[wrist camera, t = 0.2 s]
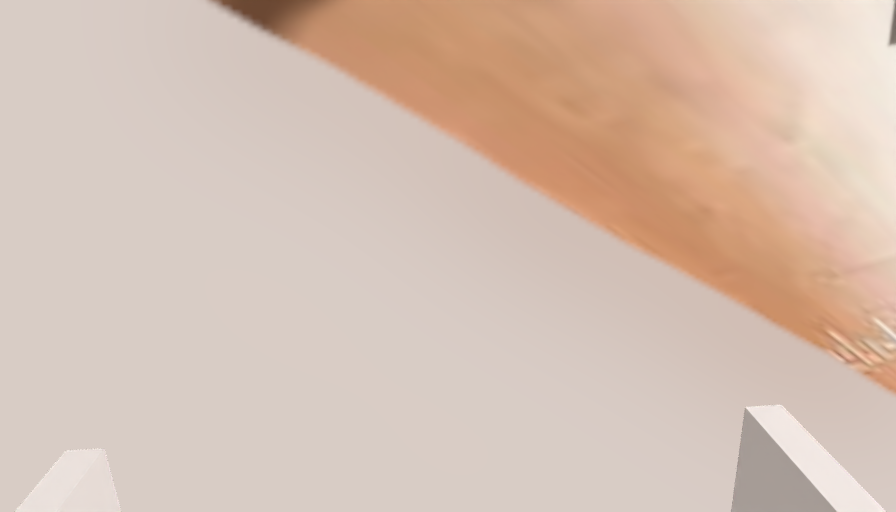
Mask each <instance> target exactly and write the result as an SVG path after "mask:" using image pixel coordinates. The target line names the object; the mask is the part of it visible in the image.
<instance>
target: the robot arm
mask: <svg viewBox="0 0 896 512" xmlns="http://www.w3.org/2000/svg"><path fill="white" fill-rule="evenodd" d="M15 512H121V509H120V505H119V501H118V498H117V494H116V490H115V486H114V483H113V479H112V475H111V471H110V468H109V464H108V460H107V456H106V453H105V449H104V448H101V449H85V450H69V451H65V452H64V453H63V455H62V456H61V457H60V458H59V459H58V460H57V462H56V463H55V464H54V465H53V466H52V468H51V469H50V470H49V471H48V472H47V474H46V475H45V476H44V477H43V478H42V480H41V481H40V482H39V483H38V484H37V486H36V487H35V488H34V489H33V490H32V491H31V493H30V494H29V495H28V496H27V497H26V499H25V500H24V501H23V502H22V503H21V505H20V506H19V507H18V508H17V509H16V511H15ZM731 512H886V511H885V510H884V509H883V508H882V507H881V506H880V505H879V504H878V503H877V502H876V501H875V500H874V499H873V498H872V497H871V496H870V495H869V494H868V493H867V492H866V491H865V489H864V488H862V486H860V484H859V483H858V482H856V480H855V479H854V478H853V477H852V476H851V475H850V474H849V473H848V472H847V471H846V470H845V469H844V468H843V467H842V466H841V465H840V464H839V463H838V462H837V461H836V460H835V459H834V458H833V457H832V456H831V455H830V454H829V453H828V452H827V451H826V450H825V449H824V448H823V447H822V446H821V445H820V444H819V443H818V442H817V441H816V440H815V439H814V438H813V437H812V436H811V435H810V434H809V432H807V430H806V429H805V428H804V427H803V426H802V425H801V424H800V423H799V422H798V421H797V420H796V419H795V418H794V417H793V416H792V415H791V414H790V413H789V412H788V411H787V410H786V409H785V408H784V407H783V406H782V405H771V406H754V407H745V412H744V420H743V428H742V434H741V443H740V449H739V457H738V465H737V472H736V479H735V487H734V495H733V502H732V509H731Z"/></svg>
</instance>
